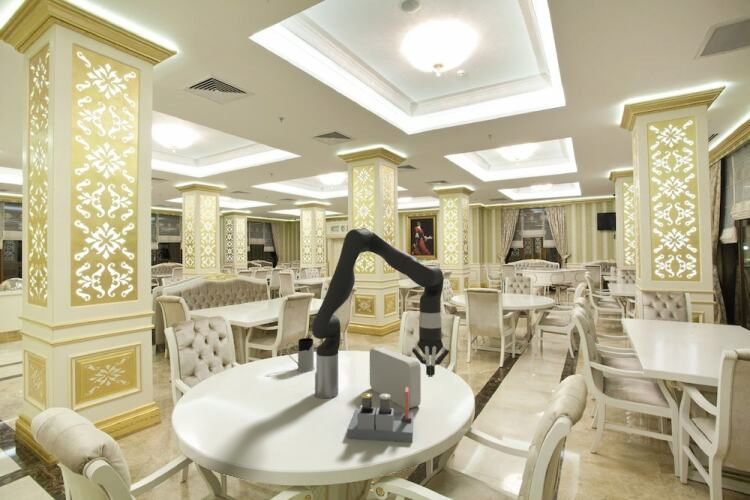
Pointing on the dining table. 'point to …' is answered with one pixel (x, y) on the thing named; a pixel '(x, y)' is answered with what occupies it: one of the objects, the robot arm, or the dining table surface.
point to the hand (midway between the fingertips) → (430, 376)
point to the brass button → (366, 402)
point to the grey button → (385, 403)
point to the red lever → (407, 407)
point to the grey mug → (305, 354)
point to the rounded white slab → (395, 376)
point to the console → (380, 426)
